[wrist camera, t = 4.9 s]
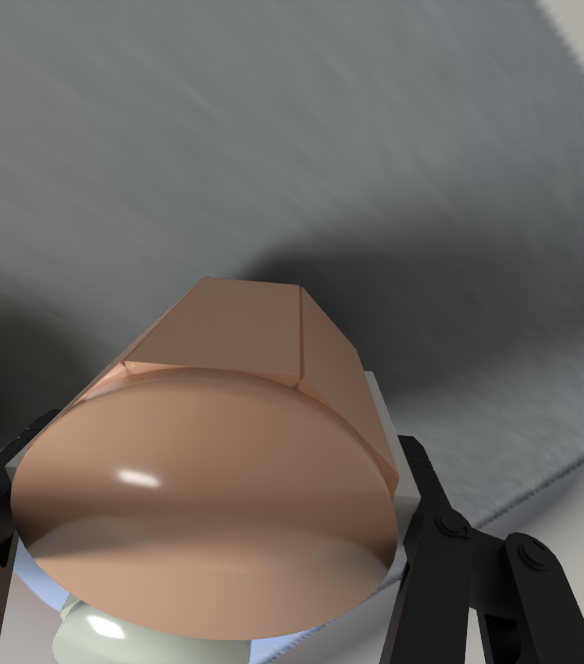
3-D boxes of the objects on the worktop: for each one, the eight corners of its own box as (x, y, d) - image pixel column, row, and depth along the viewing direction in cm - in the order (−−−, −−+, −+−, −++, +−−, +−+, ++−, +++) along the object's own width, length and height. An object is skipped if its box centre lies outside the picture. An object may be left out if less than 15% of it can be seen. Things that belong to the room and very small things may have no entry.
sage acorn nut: (119, 464, 22) (29, 603, 15) (266, 475, 22) (250, 619, 15) (137, 554, 26) (73, 698, 19) (260, 564, 26) (245, 710, 19)
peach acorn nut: (134, 270, 14) (-54, 374, 6) (369, 291, 14) (446, 414, 7) (157, 447, 18) (60, 629, 11) (336, 461, 18) (361, 649, 11)
